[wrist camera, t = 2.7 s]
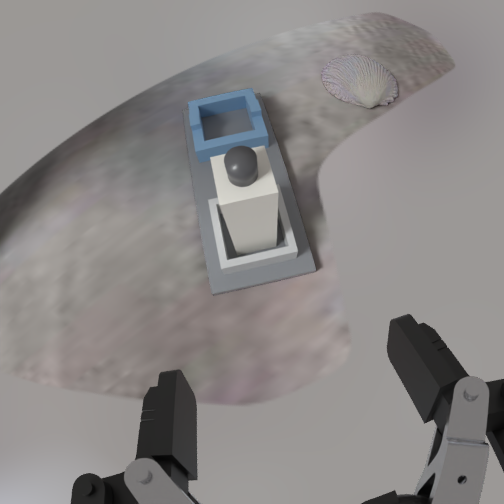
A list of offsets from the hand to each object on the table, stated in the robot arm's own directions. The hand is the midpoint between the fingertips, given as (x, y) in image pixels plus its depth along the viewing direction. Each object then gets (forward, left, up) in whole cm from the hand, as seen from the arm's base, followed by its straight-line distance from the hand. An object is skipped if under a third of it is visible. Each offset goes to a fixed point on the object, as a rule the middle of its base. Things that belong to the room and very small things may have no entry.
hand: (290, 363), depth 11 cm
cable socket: (+11, +13, -15) cm, 22 cm away
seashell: (+31, +10, -16) cm, 36 cm away
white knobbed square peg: (+7, +8, -14) cm, 18 cm away
